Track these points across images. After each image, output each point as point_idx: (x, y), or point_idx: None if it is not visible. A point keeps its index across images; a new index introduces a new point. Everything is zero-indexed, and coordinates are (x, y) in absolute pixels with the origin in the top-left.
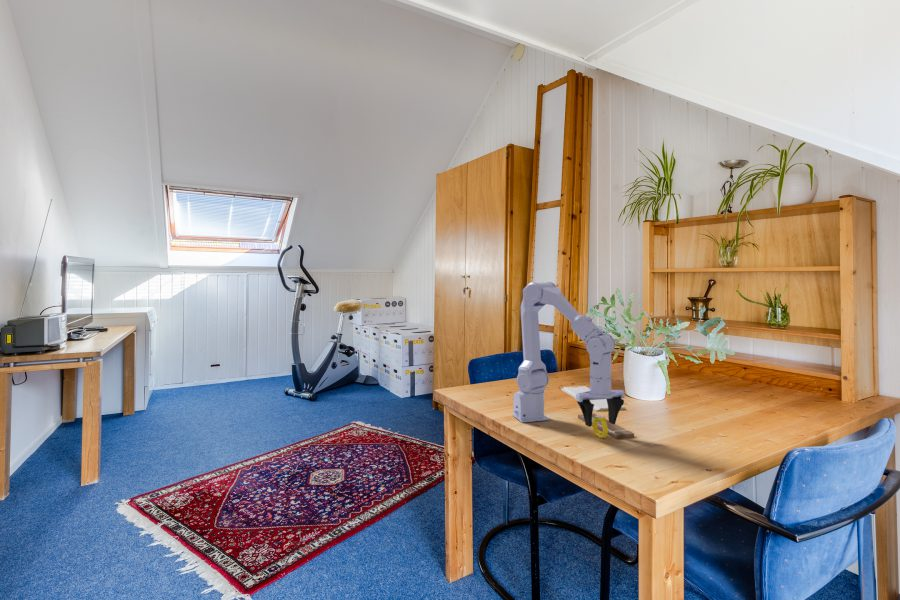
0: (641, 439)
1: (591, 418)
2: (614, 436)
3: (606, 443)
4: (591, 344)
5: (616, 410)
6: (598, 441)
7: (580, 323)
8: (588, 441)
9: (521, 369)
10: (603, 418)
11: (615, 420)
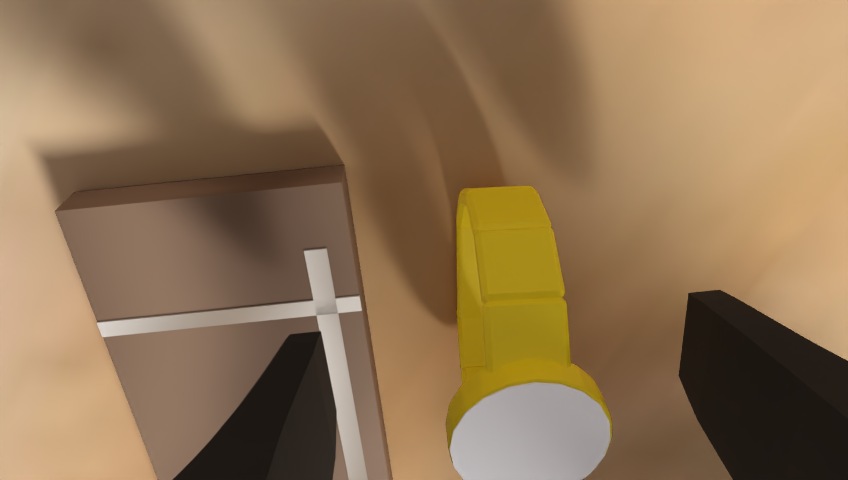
0: (3, 97)
1: (773, 351)
2: (347, 194)
3: (541, 40)
4: None
5: (245, 476)
6: (597, 124)
7: None
8: (712, 144)
9: None
10: (514, 371)
11: (281, 359)
